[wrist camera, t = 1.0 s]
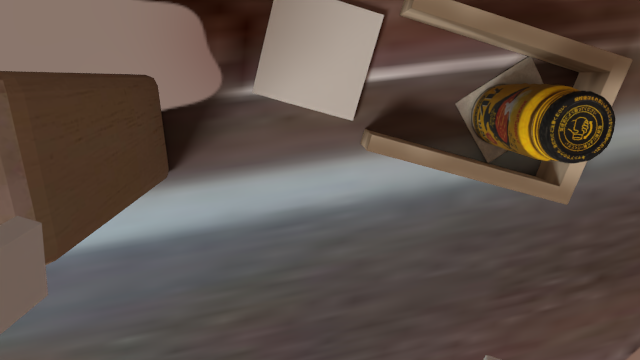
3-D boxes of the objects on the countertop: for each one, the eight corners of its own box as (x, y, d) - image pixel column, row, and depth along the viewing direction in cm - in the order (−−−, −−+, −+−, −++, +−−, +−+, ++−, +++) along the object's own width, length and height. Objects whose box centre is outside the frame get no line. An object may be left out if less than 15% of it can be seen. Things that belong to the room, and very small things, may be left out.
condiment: (454, 103, 39) (520, 114, 27) (529, 55, 38) (631, 44, 26) (486, 163, 40) (562, 197, 29) (559, 118, 40) (667, 134, 28)
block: (50, 77, 36) (-237, 77, 17) (159, 74, 36) (3, 70, 17) (71, 181, 39) (-158, 285, 19) (173, 177, 39) (50, 274, 20)
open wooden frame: (404, -2, 36) (417, -12, 32) (599, 61, 38) (632, 59, 34) (360, 143, 39) (367, 150, 35) (542, 192, 42) (567, 204, 38)
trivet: (278, -17, 35) (278, -19, 34) (382, 16, 36) (384, 15, 36) (252, 92, 37) (252, 92, 37) (351, 120, 38) (352, 120, 38)
